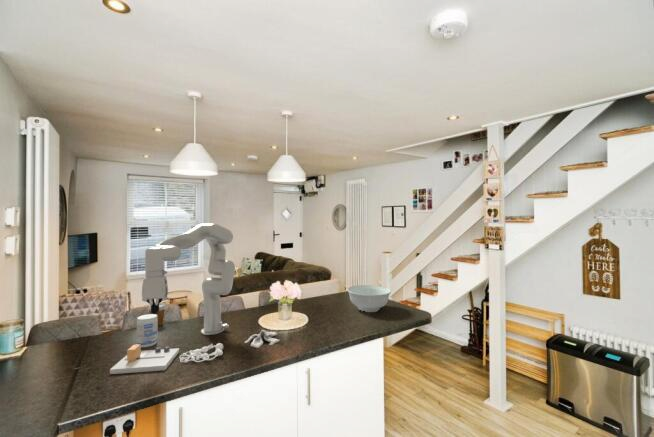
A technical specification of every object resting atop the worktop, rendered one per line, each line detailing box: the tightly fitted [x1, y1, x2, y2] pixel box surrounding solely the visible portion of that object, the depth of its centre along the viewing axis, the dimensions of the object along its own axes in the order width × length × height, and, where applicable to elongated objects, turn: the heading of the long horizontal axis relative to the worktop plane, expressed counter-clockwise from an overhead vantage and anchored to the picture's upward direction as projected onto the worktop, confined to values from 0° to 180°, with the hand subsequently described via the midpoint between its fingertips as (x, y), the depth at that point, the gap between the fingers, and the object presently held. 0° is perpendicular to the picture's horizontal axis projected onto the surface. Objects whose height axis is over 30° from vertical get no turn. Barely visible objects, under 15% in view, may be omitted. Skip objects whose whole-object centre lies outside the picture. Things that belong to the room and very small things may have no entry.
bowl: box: [346, 284, 392, 313], centre depth 220 cm, size 32×32×15 cm
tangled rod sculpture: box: [178, 342, 224, 364], centre depth 143 cm, size 19×14×4 cm
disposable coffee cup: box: [147, 303, 166, 327], centre depth 188 cm, size 10×10×12 cm
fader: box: [126, 344, 142, 361], centre depth 137 cm, size 3×6×5 cm, turn 9°
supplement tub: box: [135, 313, 159, 348], centre depth 158 cm, size 10×10×15 cm
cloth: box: [244, 329, 280, 349], centre depth 163 cm, size 22×19×6 cm
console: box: [109, 346, 180, 375], centre depth 138 cm, size 22×18×4 cm
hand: (155, 313), depth 140 cm, fingers closed
